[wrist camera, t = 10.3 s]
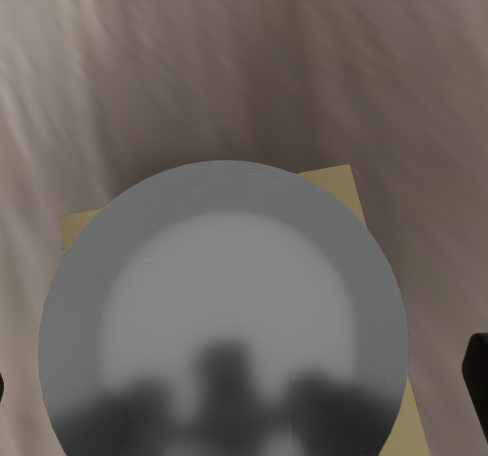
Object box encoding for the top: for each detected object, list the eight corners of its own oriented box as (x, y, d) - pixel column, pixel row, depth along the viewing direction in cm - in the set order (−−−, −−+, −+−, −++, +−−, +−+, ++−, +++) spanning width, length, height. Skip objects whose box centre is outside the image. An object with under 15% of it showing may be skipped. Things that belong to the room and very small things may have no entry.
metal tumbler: (313, 365, 16) (491, 409, 5) (214, 423, 16) (133, 642, 4) (258, 268, 17) (291, 101, 6) (163, 320, 17) (-23, 258, 5)
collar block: (376, 438, 16) (436, 479, 11) (138, 489, 15) (90, 556, 10) (319, 214, 18) (349, 163, 13) (111, 253, 17) (60, 216, 12)
